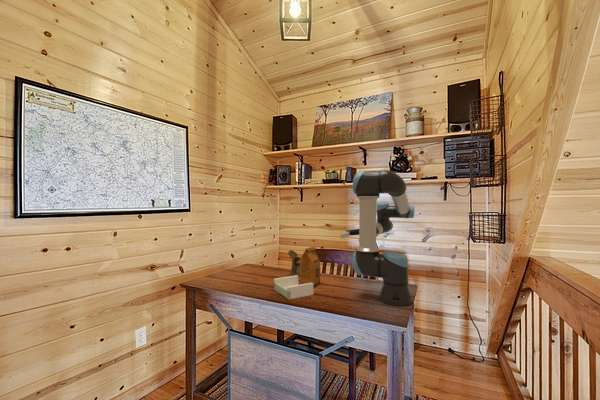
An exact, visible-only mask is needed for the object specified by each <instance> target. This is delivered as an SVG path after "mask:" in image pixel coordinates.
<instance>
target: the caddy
mask: <svg viewBox="0 0 600 400" xmlns="http://www.w3.org/2000/svg"><path fill="white" fill-rule="evenodd" d="M273 290H274V291H275V292H276V293H278V294H279V295H281V296H283V297H284V298H285V299H286V300H287V301H288V300H294V299H298V298H304V297H308V296H314V285H313V283H307V284H301V285H300V284H299V276H298V275H295V276H291V275H288V276H281V277H278V278H277V277H276V278H273Z"/></svg>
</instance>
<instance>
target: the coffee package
mask: <svg viewBox="0 0 600 400" xmlns="http://www.w3.org/2000/svg"><path fill="white" fill-rule="evenodd" d="M316 249H317V246H316V245H314V246H310V247H307V248H305V249H304V251H303V253H302V254H301V257H300V258H301V263H300V276H299V278H300V279H299V281H300V284H299V285H301V284H307V283H313V286H316V285H318V284H319V283H321V262H320V259H319V257H318V254H317V253H316V251H315V250H316Z"/></svg>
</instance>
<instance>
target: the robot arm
mask: <svg viewBox="0 0 600 400" xmlns="http://www.w3.org/2000/svg"><path fill="white" fill-rule="evenodd" d="M406 191H407V185H406V181H405V180H404V179H403V178H402V177H401V176H400V175H399V174H397V173H396V172H393V171H391V170H387V169H386V170H385V169H382V170H363V171H357V172H356V173H355V174H354V177H353V180H352V192H353V193H354V194H355V196H356V198H357V199H358V200H359V201H358V202H359V204H358V205H359V206H358V207H359V209H358V210H359V211H358V213H359V215H358V218H359V220H358V221H359V223H358V224H359V227H358V228H357V229H355V228H353V229H348V230H347V229H346V231H345V232H342V233H341V234H340V239H345V238H348V237H350V236H359V238H358V243H359V244H358V247H357V248H356V249H355V251H354V252H353V253H352V260H351V261H352V263H351V264H352V268H353V271H354V273H355V274H357V275H359V276H363V277H374V278H380V279H381V278H382V279H383V281H382V287H381V290H380V292H379V300H380V302H382V303H383V304H385V305H390V306H395V307H397V306H398V307H405V306H410V305H411V304H412V303H413V297H412V295H411V292H410V288H409V260H408V259H409V258H408V257H407V256H406V255H405V254H402V253H400V252H396V251H383V253H380V249H379V248H378V247H377V237H378V236H380V235H382V234H385V233H388V232H390V231H392V229H393V228H394V224H393V221H391V220H390V219H391V218H393V219H413V218H414V217H415V206H414V205H410V204H409V199H408V196H407V192H406ZM380 194H388V195H389V196H390V197H391V199H392V202H393V204H394V205H390V203H389V202H388V201H380V202H378V203H377V200H378V199H379V198H380Z"/></svg>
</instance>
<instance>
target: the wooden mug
mask: <svg viewBox="0 0 600 400" xmlns="http://www.w3.org/2000/svg"><path fill="white" fill-rule="evenodd" d="M287 253H288V254H287V255H289V257H290V258H291V269H290V273H289V274H290V275H289V276H295V275H298V277H300V263H301V257H300V256H299V257H298V253H297V252H296V251H294V250H293V249H290V250H289V251H288V252H287Z"/></svg>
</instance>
